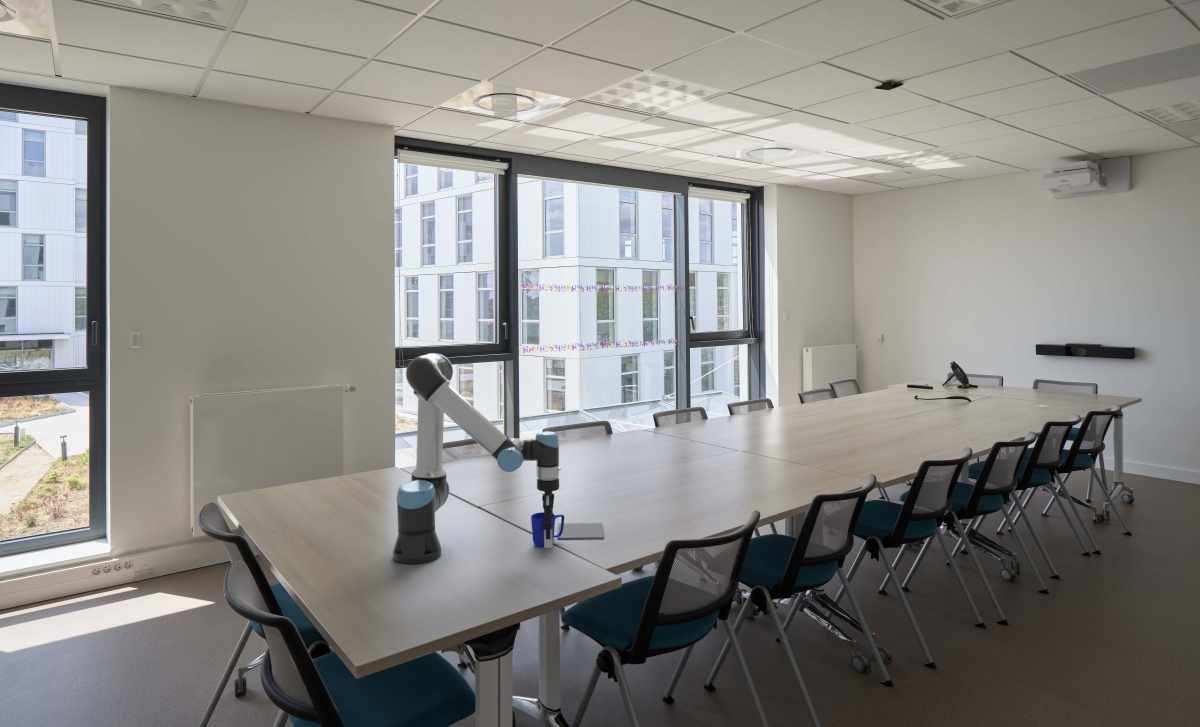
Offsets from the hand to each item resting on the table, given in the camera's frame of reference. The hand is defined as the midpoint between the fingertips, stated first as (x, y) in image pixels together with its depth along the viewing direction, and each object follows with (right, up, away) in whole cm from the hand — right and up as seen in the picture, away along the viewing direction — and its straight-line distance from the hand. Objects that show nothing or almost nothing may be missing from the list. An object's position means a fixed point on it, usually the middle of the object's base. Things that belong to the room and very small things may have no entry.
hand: (548, 542), depth 238 cm
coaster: (+10, +1, +12) cm, 16 cm away
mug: (0, 0, 0) cm, 0 cm away
